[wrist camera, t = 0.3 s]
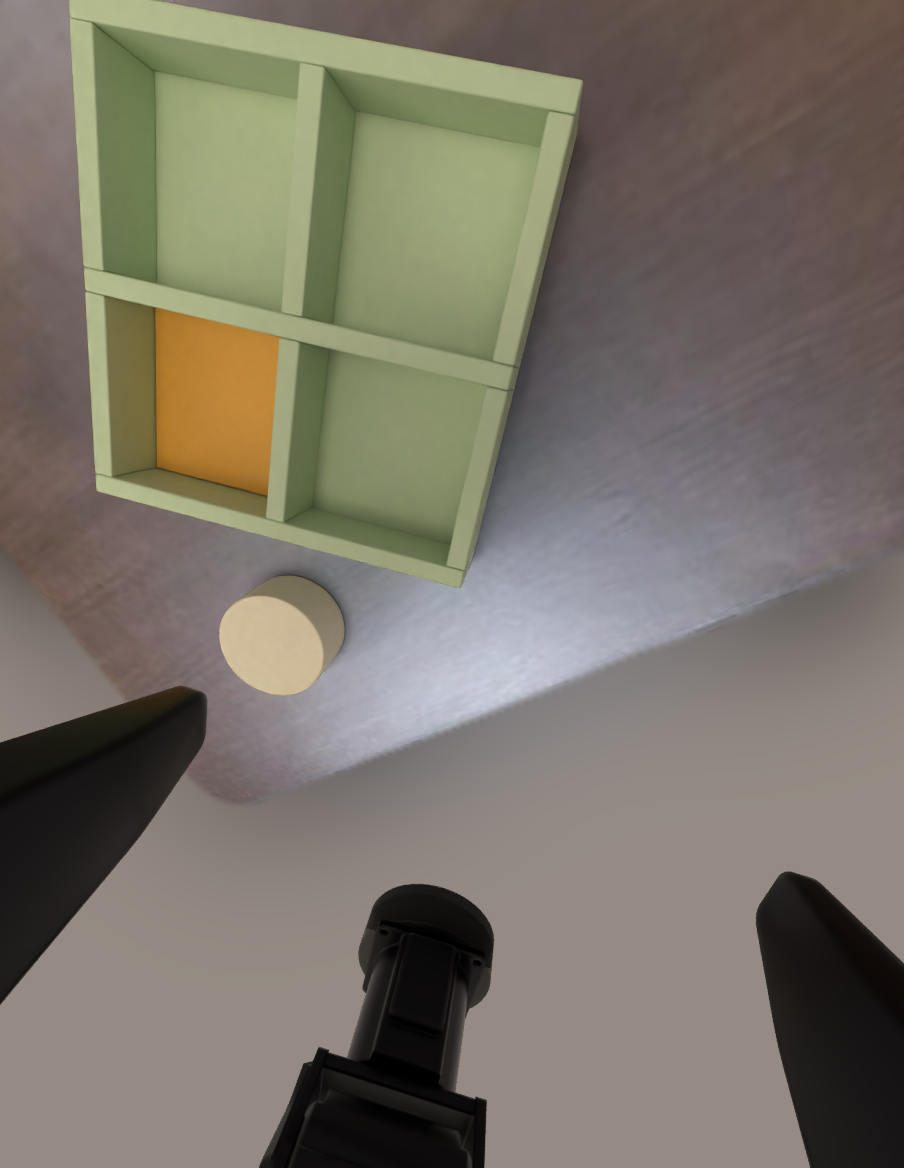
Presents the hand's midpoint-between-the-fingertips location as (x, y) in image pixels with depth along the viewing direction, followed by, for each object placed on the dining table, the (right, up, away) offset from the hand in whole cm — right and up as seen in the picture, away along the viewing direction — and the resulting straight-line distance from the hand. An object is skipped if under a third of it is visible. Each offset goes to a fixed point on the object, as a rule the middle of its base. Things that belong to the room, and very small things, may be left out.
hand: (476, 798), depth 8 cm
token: (-7, +2, +16) cm, 17 cm away
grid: (-5, +12, +11) cm, 17 cm away
